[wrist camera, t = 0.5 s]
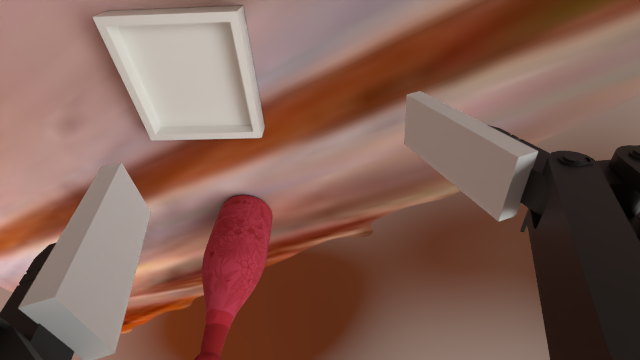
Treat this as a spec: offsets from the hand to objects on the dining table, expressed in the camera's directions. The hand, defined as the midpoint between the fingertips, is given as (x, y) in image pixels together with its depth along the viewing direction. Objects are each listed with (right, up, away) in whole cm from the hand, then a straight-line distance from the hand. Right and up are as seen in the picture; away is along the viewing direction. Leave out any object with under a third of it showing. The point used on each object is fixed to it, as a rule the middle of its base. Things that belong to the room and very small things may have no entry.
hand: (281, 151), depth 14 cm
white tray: (-15, +12, +26) cm, 32 cm away
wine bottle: (-12, -7, +43) cm, 45 cm away
